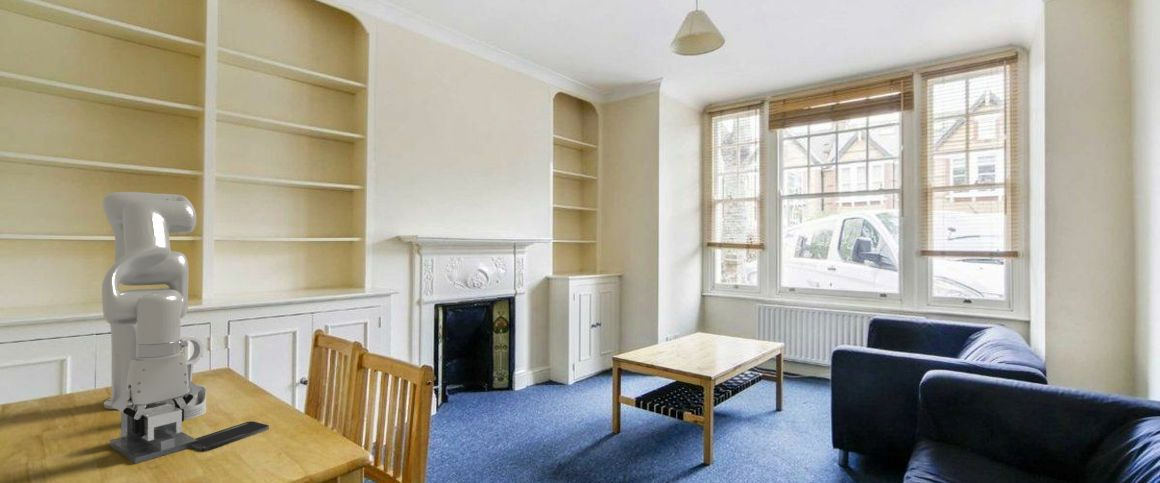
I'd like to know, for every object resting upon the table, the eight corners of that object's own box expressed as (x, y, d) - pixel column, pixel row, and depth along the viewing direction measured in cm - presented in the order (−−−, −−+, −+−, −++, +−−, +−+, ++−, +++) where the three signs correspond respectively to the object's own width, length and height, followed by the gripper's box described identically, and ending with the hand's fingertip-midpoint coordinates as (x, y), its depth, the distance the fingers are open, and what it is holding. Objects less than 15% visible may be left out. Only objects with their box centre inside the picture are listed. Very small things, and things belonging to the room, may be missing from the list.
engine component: (147, 419, 130) (179, 423, 128) (147, 340, 130) (179, 342, 128) (188, 405, 141) (218, 408, 139) (188, 332, 141) (218, 333, 139)
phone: (183, 442, 115) (250, 420, 129) (183, 447, 115) (250, 425, 129) (204, 448, 112) (271, 425, 125) (204, 453, 112) (271, 430, 125)
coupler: (109, 445, 114) (109, 406, 114) (169, 430, 124) (169, 393, 124) (135, 463, 106) (135, 421, 106) (197, 445, 115) (197, 406, 115)
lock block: (148, 441, 109) (148, 417, 109) (135, 433, 113) (135, 411, 113) (181, 432, 114) (181, 409, 114) (168, 425, 118) (168, 403, 118)
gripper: (197, 341, 122) (197, 416, 122) (101, 354, 108) (101, 439, 108) (211, 345, 118) (211, 422, 118) (113, 359, 104) (113, 448, 104)
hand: (158, 429), depth 113 cm, fingers closed on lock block, 6 cm apart
